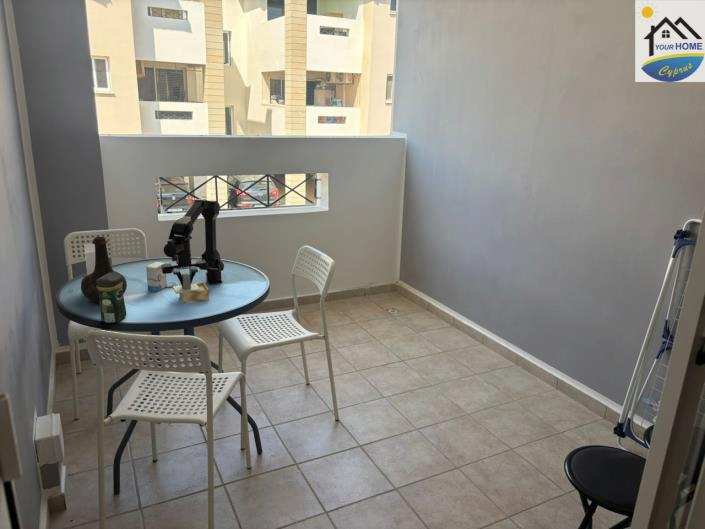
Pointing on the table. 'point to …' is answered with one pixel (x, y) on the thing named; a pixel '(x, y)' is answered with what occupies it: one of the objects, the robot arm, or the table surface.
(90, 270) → the milk
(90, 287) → the glass bottle
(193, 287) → the cover plate
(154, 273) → the ink box
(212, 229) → the robot arm
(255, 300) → the table surface
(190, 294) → the oak box
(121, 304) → the coffee jar
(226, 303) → the table surface
